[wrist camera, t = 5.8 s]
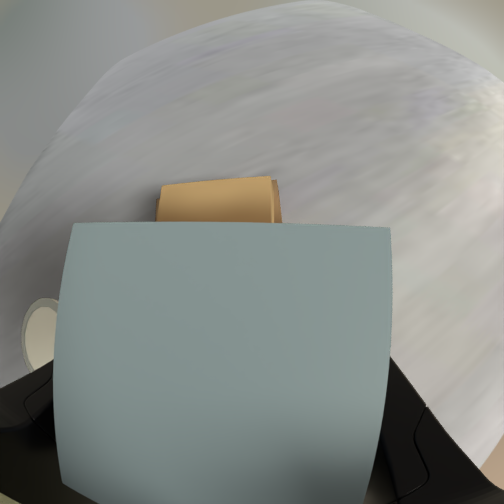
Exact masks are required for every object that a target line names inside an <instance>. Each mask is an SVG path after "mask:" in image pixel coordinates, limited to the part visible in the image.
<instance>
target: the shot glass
mask: <svg viewBox="0 0 504 504" xmlns="http://www.w3.org/2000/svg"><path fill="white" fill-rule="evenodd" d="M58 302H59V301H57V300H54V299H51V298H40V299H38V300H37V301H35V302H34V303H33V304H31V306H30V307H29V309H28V311H27V313H26V314H25V317H24V321H23V325H22V330H21V346H22V352H23V356H24V360H25V363H26V365H27V367H28V369H29V371H30V373H31V372H33V371H35V370H36V369H38V368H40V367H41V366H43V365H45V364H46V363H48V362H50V361H51V360H53V359H54V343H55V330H56V319H57V310H58Z"/></svg>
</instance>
